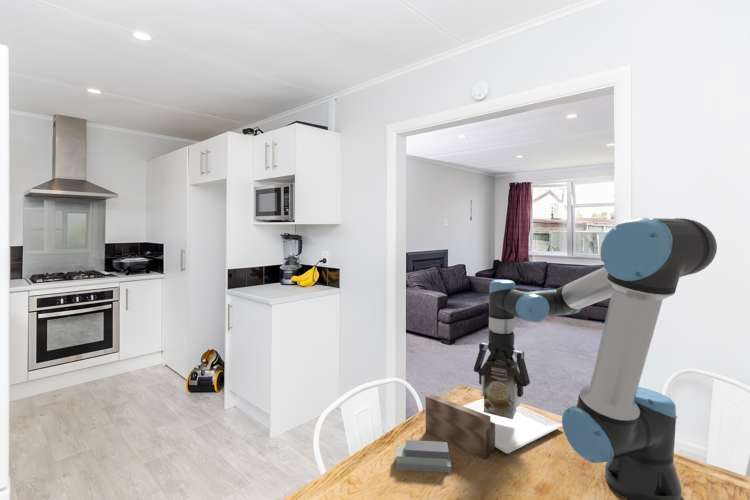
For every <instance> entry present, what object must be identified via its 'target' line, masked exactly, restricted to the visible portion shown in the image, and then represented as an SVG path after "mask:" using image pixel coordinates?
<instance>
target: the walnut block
mask: <svg viewBox="0 0 750 500" xmlns="http://www.w3.org/2000/svg"><path fill="white" fill-rule="evenodd" d="M490 419H491V416H488V415H485V414H483V413H480V412H477V411H475V410H472V409H469V408H467V407H464V405H461V404H458V403H456V402H453V401H450V400H448V399H446V398H442V397H439V396H437V395H435V394H432V393H430V394H427V395H426V396H425V432H426V433H428V434H430V435H432V436H434V437H437V438H438V439H441V440H443V441H444V442H447V443H449V444H452V445H454V446H456V447H458V448H460V449H463V450H464V451H467V452H469V453H471V454H473V455H476V456H477V457H480V458H482V459H484V460H487V459H488V458H490V456H491V455H493V454H494V453H495V451H496V450H495V449H496V447H495V423H493V422H490Z"/></svg>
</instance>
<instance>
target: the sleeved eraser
mask: <svg viewBox="0 0 750 500" xmlns="http://www.w3.org/2000/svg"><path fill="white" fill-rule="evenodd" d="M395 453H396V455H395V456H396V457H395V464H396V465H395V469H396V470H408V471H410V470H411V471H424V472H425V471H426V472H437V473H438V472H441V473H452V461H451V454H449V446H448V442H447V441H435V440H433V441H431V440H415V439H405V445H396V452H395Z"/></svg>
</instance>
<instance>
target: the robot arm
mask: <svg viewBox="0 0 750 500" xmlns="http://www.w3.org/2000/svg"><path fill="white" fill-rule="evenodd" d="M717 249H718V244H717V239H716V237H715V235H714V234H713V232H712V231H711V230H710V229H709V227H707V226H706V225H704V224H703V223H701V222H699V221H697V220H693V219H690V218H682V217H681V218H657V217H656V218H654V217H653V218H652V217H650V218H649V217H648V218H647V217H640V218H636V219H629V220H624V221H622V222H620V223H618V224H616V226H613V227H612V228H611V229H610V230H609V231H608V232H607V233H606V235H605V236H604V238H603V240H602V243H601V246H600V251H599V253H600V260H601V262H603V265H602V266H603V267H601V268H599V269H597V270H594V271H592V272H590V273H588V274H586V275H584V276H582V277H579V278H578V279H575V280H572V281H571V282H569V283H567V284H565V285H562V286H560V287H558V288H555V289H547V290H536V291H522V290H518V289H517V287H516V283H515V281H513V280H510V279H494V280H491V281H490V283H489V292H488V297H489V298H488V329H489V330H488V343H486V341H483V342H481V343H479V345H478V347H479V349H478V350H479V351H478V355H477V357H476V360H475V364H474V367H473V372H475V373H477V374H478V384H479V385H481V386H480V388H481V389H480V390H481V391H480V396H481V397H483V398H484V383H485V362H484V360H485V356H486V353H487V350H488V352H489V353H490V354H489V355H488V356H487V358H486V360H490V361H492V360H494V359H495V360H500V361H503V362H505V364H506V365H508V366H511V367H512V366H514V365H515V363H514V361H515V359H516V362H517V364H518V368H517V367H516V370H515V378H514V380H515V382H516V385H515V386H514V407H515V408H517V407H518V406H519V405H520V406H521V397H523V395H524V387H528V386H529V385H530V384H531V381H530V380H531V379H530V377H529V373H528V370H527V366H526V362H525V352H524V351H523V350H520V351H519V350H516V349H515V347H514V346H515V332H514V331H515V318H519V319H521V320H524V321H526V322H532V323H541V322H542V321H543V320H545V319H546V318H548V317H549V318H550V317H557V316H570V315H575V314H578V313H579V312H581V310H582V309H583V308H586V307H588V306H591V305H593V304H596V303H599V302H602V301H606V300H607V299H610V300H609V304H608V308H607V312H606V315H605V321H604V324H603V329H602V333H601V336H600V337H601V338H600V341H599V345H598V349H597V353H596V357H595V361H594V366H593V369H592V375H591V377H590V382H589V385H586V386H583V387H582V388H581V389H580V390H579V394H578V397H577V401H576V402H577V403H576V405H575V406H573V405H572V406H569V407H568V408H567V409H565V410H564V411H563V413H562V416H561V424H562V430H563V434H564V435H565V438H566V440H567V442H568V443H569V445H570V446H571V448H572V449H573V450H574V451H575V453H576V454H577V455H579V456H580V458H583V459H584V460H586V461H587V462H590V463H594V464H600V463H601V464H602V463H605V462H606V463H605V467H604V468H605V469H604V470H605V472H604V478H605V480H606V482H607V483H608V484H609V485H610V487H611V488H612V489H614V490H615V491H617V493H619V494H620V495H622V496H623V497H625V498H628V499H630V500H682V495H683V494H682V493H683V489H682V485H681V481H680V479H679V475H678V473H677V469H676V467H675V463H674V455H675V439H676V426H677V424H676V423H677V418H678V416H677V408H676V404H675V403H674V401H673V399H672V398H670V397H669V396H667V395H665V394H663V393H660V392H658V391H655V390H652V389H649V388H646V387H641V386H639V385H640V381H641V378H642V375H643V370H644V367H645V364H646V362H647V361H646V360H647V357H648V353H649V350H650V347H651V343H652V339H653V336H654V332H655V328H656V325H657V321H658V318H659V315H660V311H661V307H662V303H663V301H664V299H667V298H669V297H671V296H674V295H675V294H676V289H677V287H678V284H679V280H680V278H682V277H686V276H689V275H693V274H696V273H697V274H698V273H699V272H701V271H703V270H705V269H706V268H708V266H710V264H711V263H712V262H713V261H714V259H715V257H716V255H717ZM513 356H514V357H515V359H514V357H513ZM483 363H484V364H483Z"/></svg>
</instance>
